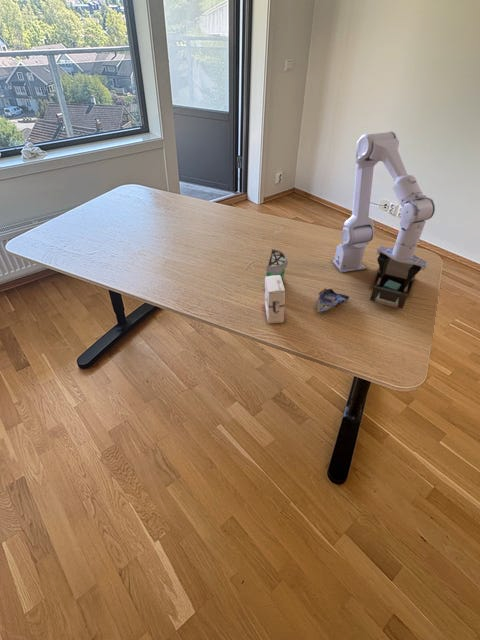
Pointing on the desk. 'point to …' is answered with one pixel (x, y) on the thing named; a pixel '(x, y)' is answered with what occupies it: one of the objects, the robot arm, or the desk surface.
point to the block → (392, 285)
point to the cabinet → (397, 272)
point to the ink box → (274, 299)
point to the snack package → (329, 300)
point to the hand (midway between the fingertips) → (393, 280)
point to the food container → (277, 263)
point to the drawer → (389, 293)
